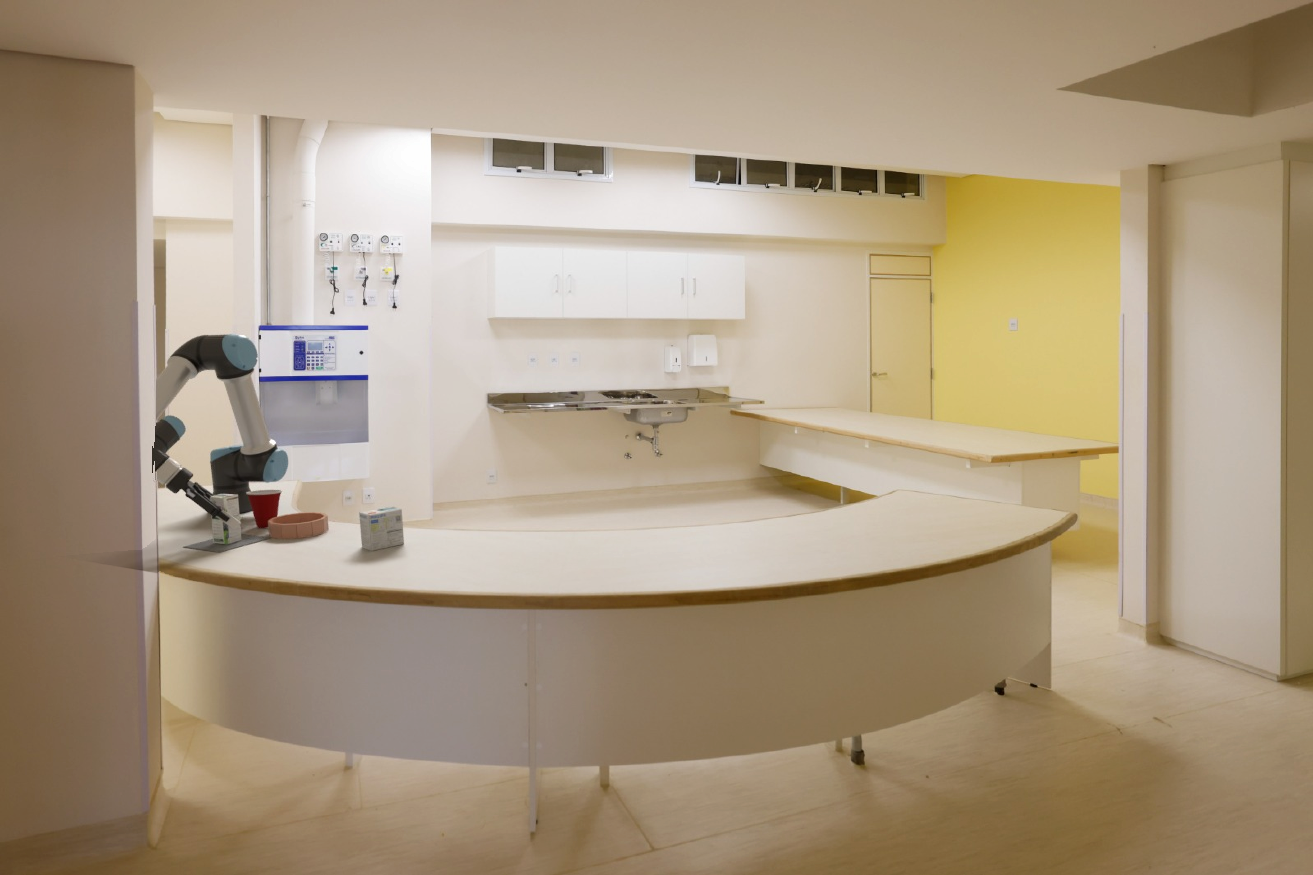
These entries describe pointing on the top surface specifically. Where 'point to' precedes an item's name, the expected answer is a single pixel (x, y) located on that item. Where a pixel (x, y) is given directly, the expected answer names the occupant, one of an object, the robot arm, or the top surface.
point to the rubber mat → (217, 547)
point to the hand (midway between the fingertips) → (238, 523)
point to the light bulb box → (381, 528)
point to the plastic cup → (264, 505)
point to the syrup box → (220, 529)
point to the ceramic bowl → (298, 525)
